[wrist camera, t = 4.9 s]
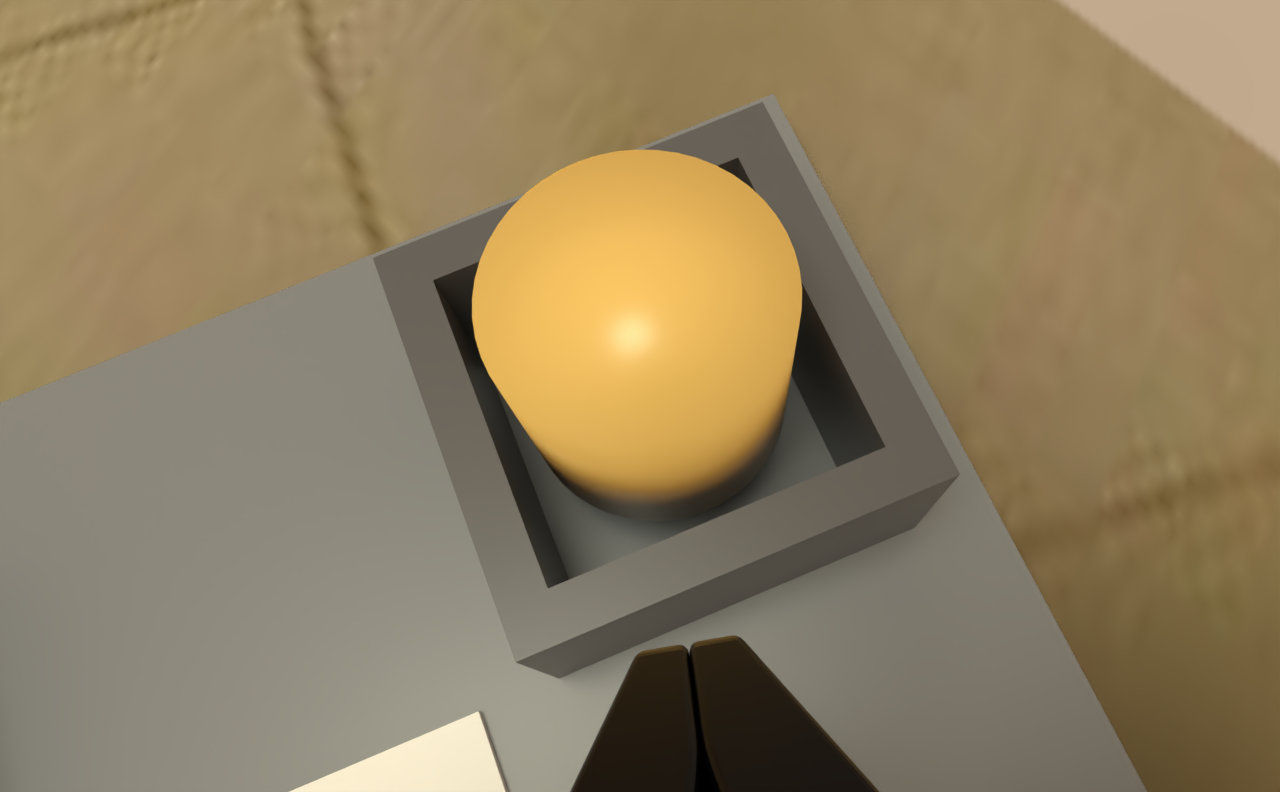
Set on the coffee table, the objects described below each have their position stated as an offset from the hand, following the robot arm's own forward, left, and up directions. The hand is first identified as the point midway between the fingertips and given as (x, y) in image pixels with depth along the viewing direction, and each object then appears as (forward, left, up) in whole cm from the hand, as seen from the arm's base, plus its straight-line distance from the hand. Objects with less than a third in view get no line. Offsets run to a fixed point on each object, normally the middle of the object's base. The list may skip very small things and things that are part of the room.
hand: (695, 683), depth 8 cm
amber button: (+5, -2, -8) cm, 10 cm away
